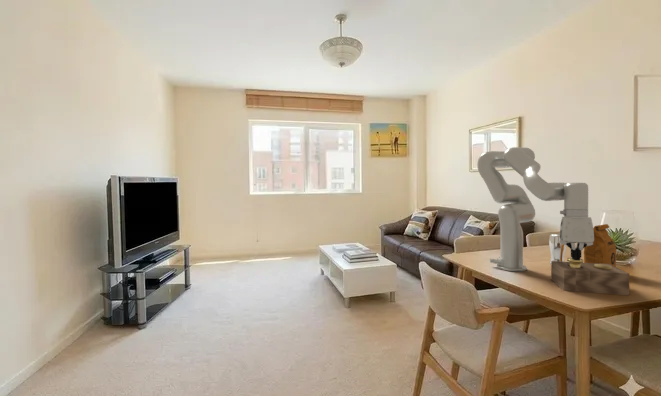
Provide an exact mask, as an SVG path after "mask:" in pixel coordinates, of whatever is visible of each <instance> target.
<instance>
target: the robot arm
mask: <svg viewBox="0 0 661 396" xmlns="http://www.w3.org/2000/svg"><path fill="white" fill-rule="evenodd" d="M535 157H536V155H535V151H533V150H532V149H531V148H528V147H519V146H518V147H517V146H516V147H515V146H513V147H510V148H508V149H506V150H505V151H502V150H501V151H500V150H499V151H498V150H495V151H494V150H491V151H490V150H489V151H484V152H483V153H481V154H480V156H479V158H478V159H477V170H478V171H477V172H478V173H479V175H480V177H481V178H482V180H483V181H484V183H485V185H486V187H487V190H488V191H489V193H490V195H491V197H492V198H493V201H494V202H495V203H497V204H504V205H502V206H500V208H499V209H498V212H497V216H498V221H499V227H500V230H499V231H500V233H499V234H500V235H499V236H500V245H499V246H500V254H499V255H500V256H499V257H498V258H490V259H489V263H491V264H496V267H497V269H500V270H504V271H510V272H525V271H527V269H528V267H527V266H526V265H524V231H523V228H522V226H521V224H522V223H528V222H532V221H533V220H534V219H535V217H536V209H535V206H534V205H533V203H532V201H531V200H530V198H529V196H528V195H527V193H526V191H525V189H524V188H523V187H522V186H520V185H518V184H508V183H507V181H506V180H505V178H504V176H503V174H502V173H500V172H499V170H497V169H500V168H501V169H506V168H512V169H513V170H514V171H516V173H517V174H519V175H520V176H521V178H522V180H523V183H524V185H525V187H526V189H527V190H528V191H529V192H530V193H531V194H532V195H533V196H534V197H536V198H537V199H538V200H541V201H545V202H552V201H555V202H556V201H564V202H563V210H560V211H559V214H560V215H563V216H562V217H561V220H560V227H559V234H560V244H563V245H566V247H568V248H569V249H570V258H572V259H574V260H580V259H582V251H584V247H586V246H590V245H593V241H594V230H593V228H594V225H593V224H594V223H593V220H592V217H589V185H588V183H587V182H547V181H546V180H545V179H543V178H542V177H541V175H539V172H540V171H541V164H540V163H539V162H538V161H536V160H535ZM496 168H497V169H496Z"/></svg>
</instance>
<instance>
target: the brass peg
mask: <svg viewBox="0 0 661 396" xmlns="http://www.w3.org/2000/svg"><path fill="white" fill-rule="evenodd" d="M566 262H570V267H574V268H581V263H584V258H580V260H574V259H572V257H566Z"/></svg>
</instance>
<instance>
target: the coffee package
mask: <svg viewBox="0 0 661 396" xmlns="http://www.w3.org/2000/svg"><path fill="white" fill-rule="evenodd" d="M607 229H610V225H609V224H608V223H605V224H599V225H595V226H594V225H593V230H594V241H593V245H590V246H586V247H584V248H583V260H584V262H583V263H598V264H610V265H612V266H614V267H616V268H617V246H616V243H615V242H614V240H613V238H612V237H611V235H609V232H608V230H607Z"/></svg>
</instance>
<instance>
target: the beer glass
mask: <svg viewBox="0 0 661 396" xmlns="http://www.w3.org/2000/svg"><path fill="white" fill-rule="evenodd" d="M548 245H549V251H550V262H549V264H550V265H551V261H559V262H565V254H566V250H567V245H563V244H560V233H551V234H549V238H548Z"/></svg>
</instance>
